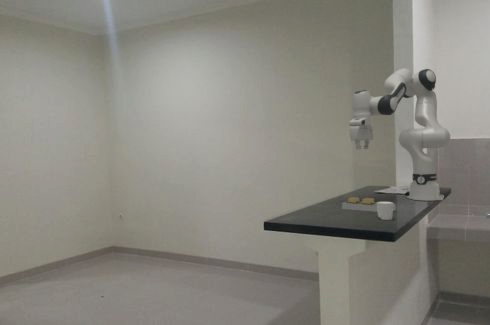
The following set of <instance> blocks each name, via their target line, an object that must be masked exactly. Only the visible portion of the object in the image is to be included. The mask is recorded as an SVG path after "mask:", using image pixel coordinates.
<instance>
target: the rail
mask: <svg viewBox="0 0 490 325" xmlns="http://www.w3.org/2000/svg"><path fill="white" fill-rule="evenodd" d="M341 210H349V211H350V210H351V211H352V210H354V211H363V212H374V213H376V212H377V213H378V211H377V202H375V201H374V204H373V205H367V204H363V201H360V200H359V203H358V204H354V203H348V200H347V201H344V202H341ZM396 210H397V209H396V203H393V213H395V212H396Z"/></svg>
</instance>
